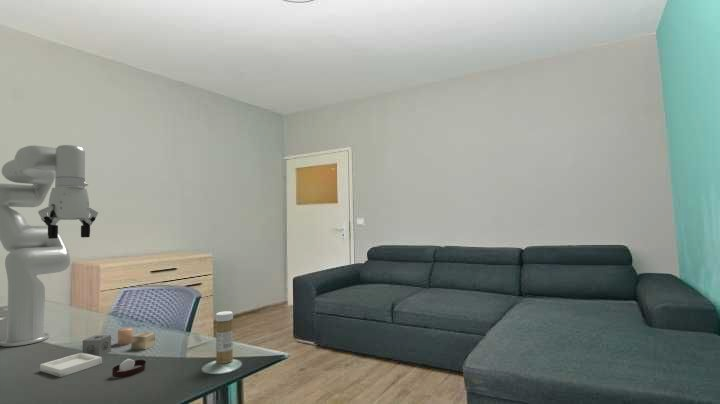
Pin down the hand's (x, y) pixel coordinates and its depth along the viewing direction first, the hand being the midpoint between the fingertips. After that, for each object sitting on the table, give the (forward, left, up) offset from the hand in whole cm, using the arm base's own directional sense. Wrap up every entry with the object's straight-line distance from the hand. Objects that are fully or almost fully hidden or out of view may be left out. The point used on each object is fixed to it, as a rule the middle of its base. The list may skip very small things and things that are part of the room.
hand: (69, 237), depth 119 cm
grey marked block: (+12, +2, -35) cm, 38 cm away
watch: (+36, -3, -36) cm, 51 cm away
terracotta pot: (+9, +12, -35) cm, 38 cm away
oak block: (+19, +12, -35) cm, 42 cm away
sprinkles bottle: (+53, +13, -35) cm, 65 cm away
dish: (+17, -7, -35) cm, 40 cm away
